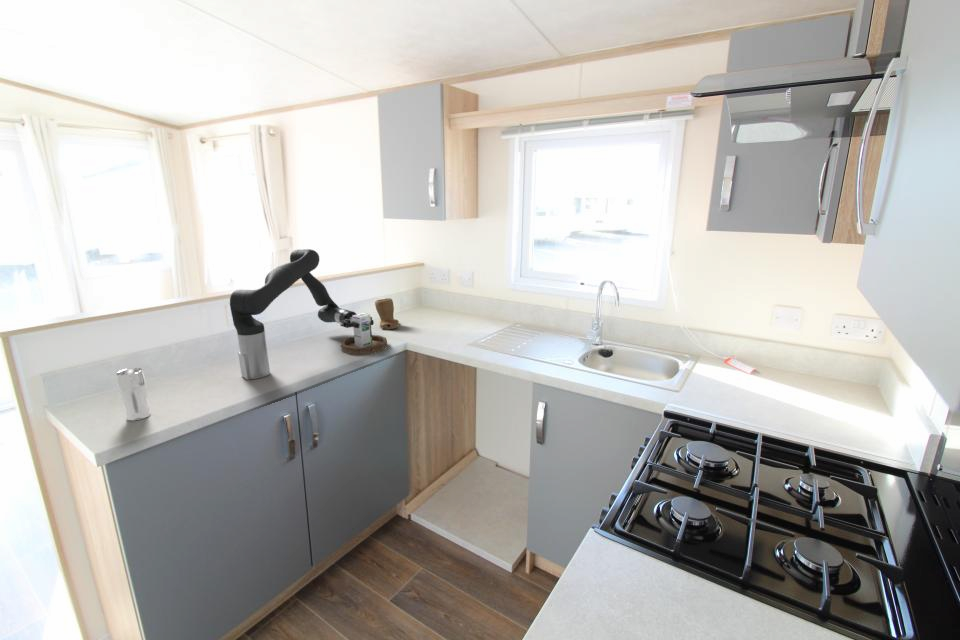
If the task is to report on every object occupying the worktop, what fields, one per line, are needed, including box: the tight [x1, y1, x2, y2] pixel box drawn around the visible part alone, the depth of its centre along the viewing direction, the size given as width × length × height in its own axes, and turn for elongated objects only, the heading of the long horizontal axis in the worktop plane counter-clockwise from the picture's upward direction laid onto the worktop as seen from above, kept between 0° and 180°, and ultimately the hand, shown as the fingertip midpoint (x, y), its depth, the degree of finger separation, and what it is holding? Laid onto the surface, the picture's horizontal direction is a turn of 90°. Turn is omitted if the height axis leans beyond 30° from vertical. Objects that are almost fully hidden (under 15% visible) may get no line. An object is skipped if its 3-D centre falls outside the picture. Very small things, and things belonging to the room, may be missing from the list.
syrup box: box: [352, 312, 373, 347], centre depth 205 cm, size 6×6×14 cm
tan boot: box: [374, 297, 399, 330], centre depth 239 cm, size 15×12×15 cm
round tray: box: [340, 334, 388, 356], centre depth 206 cm, size 20×20×3 cm
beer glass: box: [115, 367, 152, 422], centre depth 140 cm, size 7×7×15 cm
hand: (365, 324), depth 202 cm, fingers open, 7 cm apart
